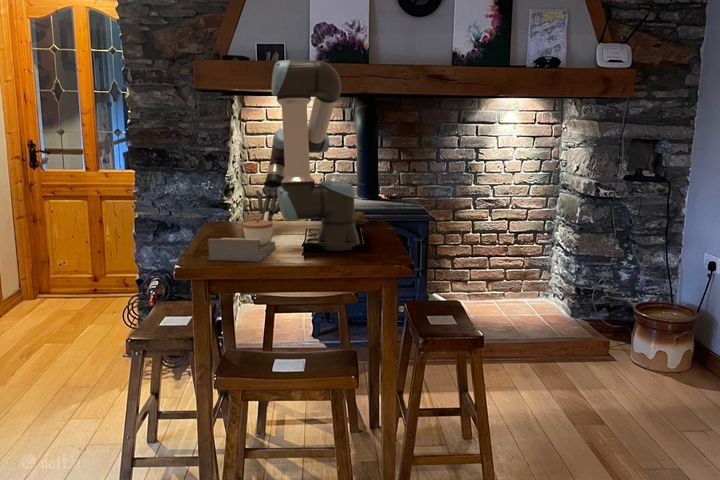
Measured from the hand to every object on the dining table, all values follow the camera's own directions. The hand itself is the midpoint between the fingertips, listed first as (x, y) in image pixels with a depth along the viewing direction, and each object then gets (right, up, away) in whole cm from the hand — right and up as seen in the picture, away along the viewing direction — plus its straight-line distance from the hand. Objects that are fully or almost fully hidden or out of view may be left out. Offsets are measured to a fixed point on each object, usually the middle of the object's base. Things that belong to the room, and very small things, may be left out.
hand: (264, 227), depth 244 cm
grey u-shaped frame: (-4, -9, -23) cm, 25 cm away
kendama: (+31, +1, +23) cm, 39 cm away
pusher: (-4, -10, -27) cm, 29 cm away
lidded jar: (-1, -6, -8) cm, 10 cm away
